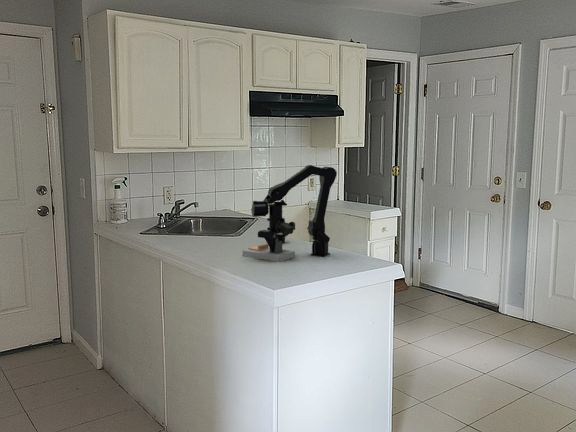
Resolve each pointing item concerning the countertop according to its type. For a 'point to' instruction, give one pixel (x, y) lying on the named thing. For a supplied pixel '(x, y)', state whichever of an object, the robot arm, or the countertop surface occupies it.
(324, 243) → the robot arm
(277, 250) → the plug
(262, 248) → the shutter
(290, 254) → the socket plate
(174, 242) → the countertop surface
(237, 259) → the countertop surface
